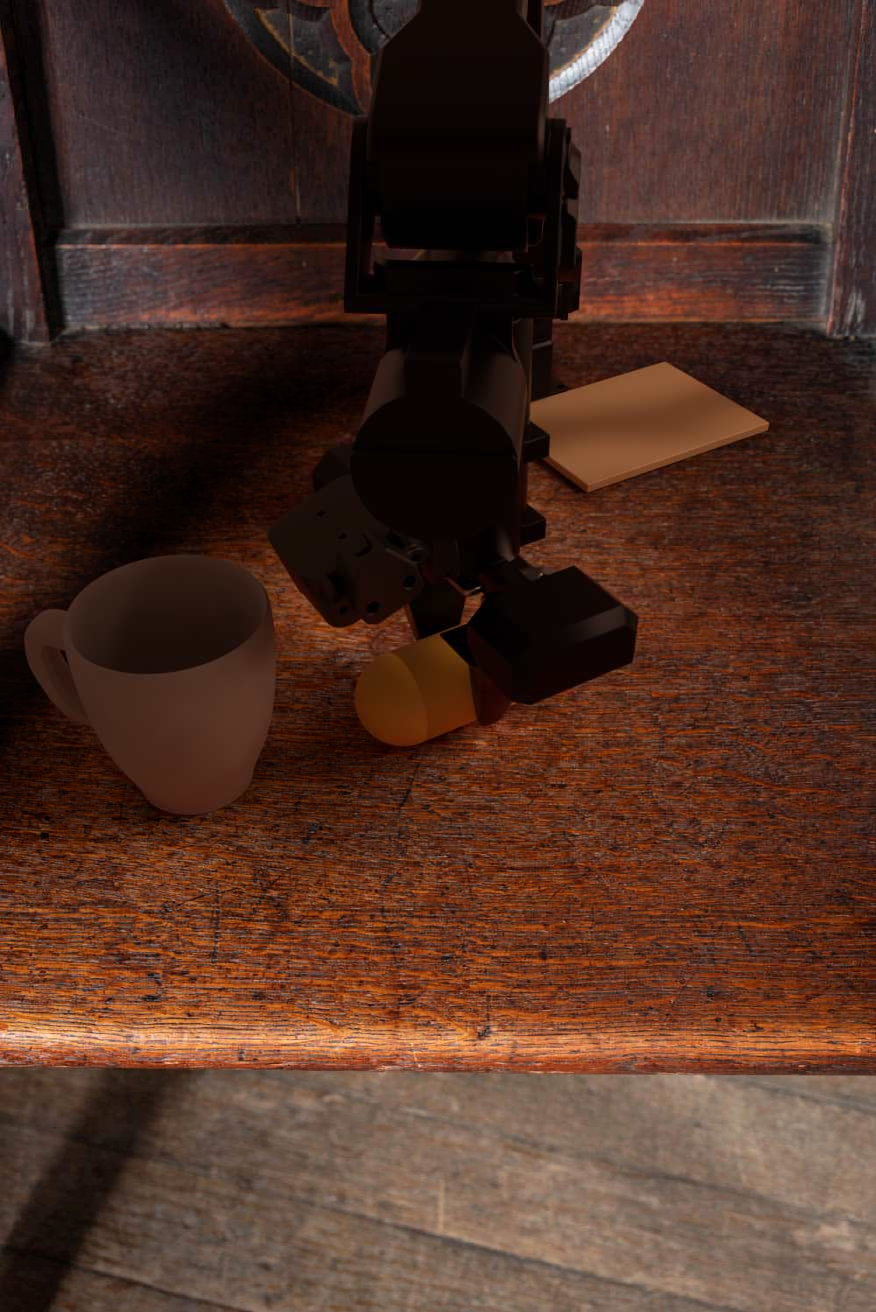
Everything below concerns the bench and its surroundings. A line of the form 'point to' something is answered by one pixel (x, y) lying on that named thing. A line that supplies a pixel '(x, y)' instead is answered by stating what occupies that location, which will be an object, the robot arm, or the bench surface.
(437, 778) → the bench surface
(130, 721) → the mug
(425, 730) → the orange rounded cylinder
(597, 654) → the robot arm
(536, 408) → the birch board
